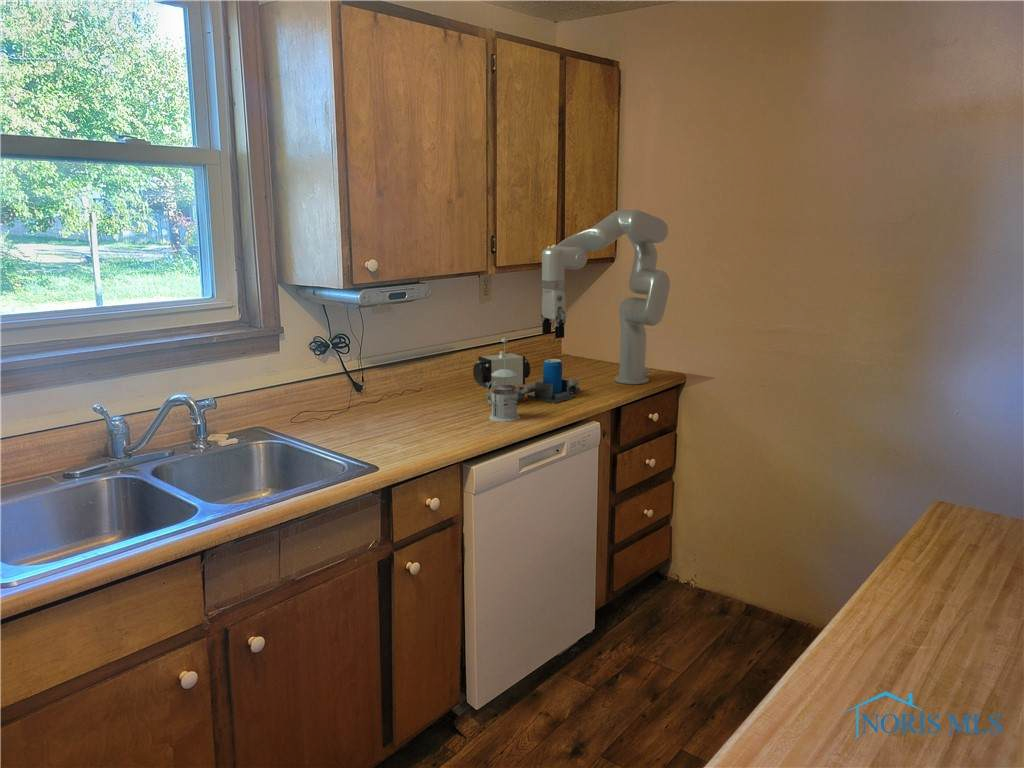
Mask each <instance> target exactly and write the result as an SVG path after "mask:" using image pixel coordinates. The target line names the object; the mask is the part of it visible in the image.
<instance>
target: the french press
mask: <svg viewBox="0 0 1024 768" xmlns="http://www.w3.org/2000/svg"><path fill="white" fill-rule="evenodd" d="M501 342H502V343H503V351H504V369H501V370H497V371H495V372H494V373H492V374H491V375H492V377H495V378H504V385H496V386H494V387H493V385H495V384H494V381H493V380H492V381H493V385H492V387H493V389H492V387H491V389H490V392H489V393H490V398H491V392H492V398H491V401H492V404H491V414H490V416H489V417H488V419H489V420H491V421H495V422H498V421H499V422H500V423H501V422H502V423H507V422H506V421H511V422H514V421H513V420H516V421H518V420H517V419H519V418H520V419H521V417H520V415H519V414H518V405H517V404H518V400H517V391H516V389H517V386H513V385H505V378H513V377H516V376H517V375H518V374H517V373H516V372H514V371H512V370H509V369H505V354H506V352H505V351H506V348H505V347H506V346H505V345H506V343H508V338H507V337H503V338H502V339H501ZM492 381H491V382H492ZM491 382H490V383H491ZM496 382H497V381H496ZM496 382H495V383H496ZM490 383H489V385H490ZM497 384H498V382H497ZM489 385H488V387H489ZM488 387H487V388H486V391H488V390H489V389H488ZM492 390H494V391H492ZM495 394H496V396H495ZM495 398H496V400H495ZM487 399H488V394H486V400H487ZM504 400H508V401H505V402H504ZM488 401H489V399H488V400H487V402H488ZM489 402H490V401H489ZM495 402H496V404H495ZM490 403H491V402H490ZM520 419H519V420H520Z"/></svg>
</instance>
